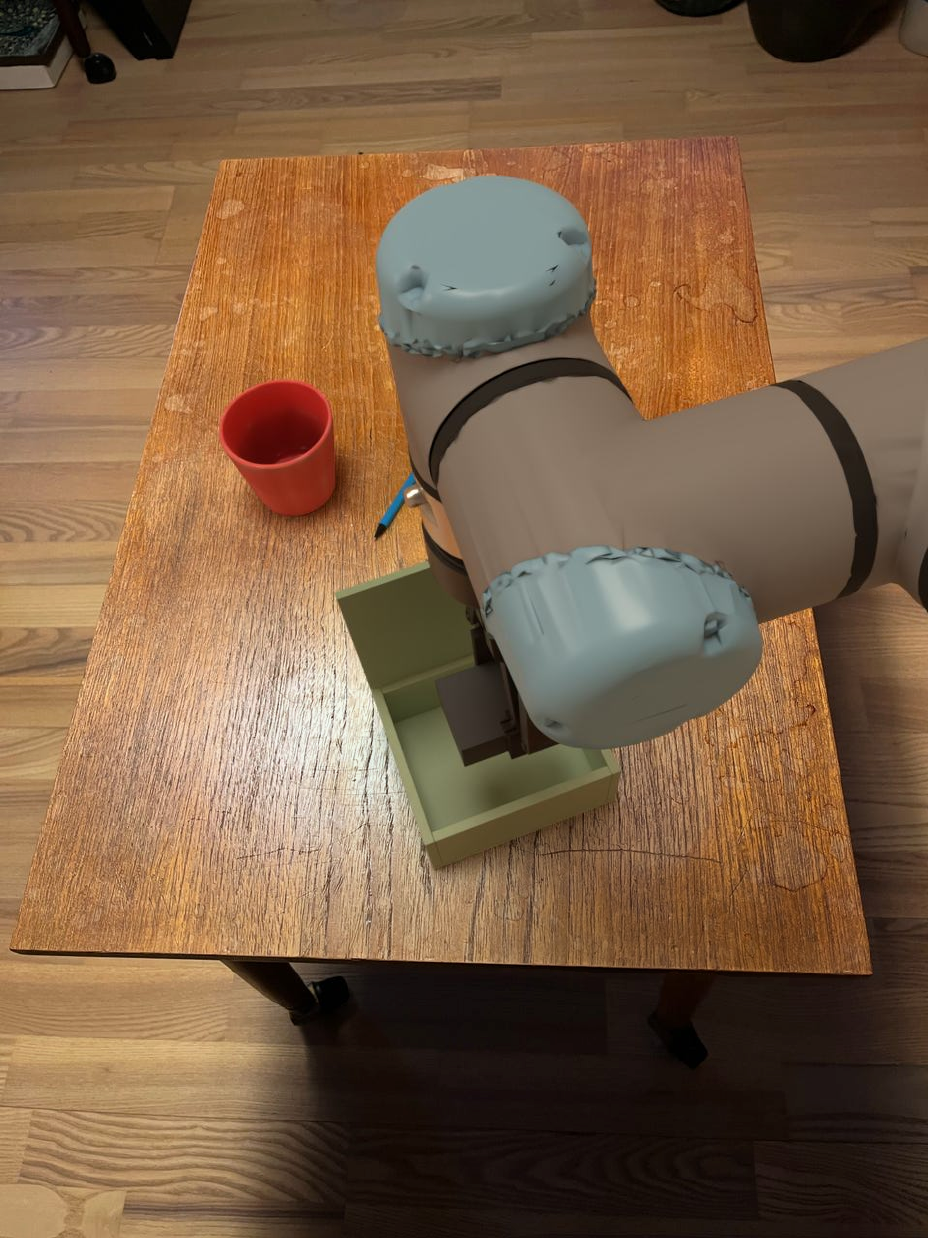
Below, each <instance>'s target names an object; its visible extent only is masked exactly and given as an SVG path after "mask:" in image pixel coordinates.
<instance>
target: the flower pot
mask: <svg viewBox="0 0 928 1238" xmlns="http://www.w3.org/2000/svg"><path fill="white" fill-rule="evenodd" d="M334 427H335V425H334V417H333V410H332V406H331V404H330V402H329V400H328V398H327V397H326V395H325V394H323V392H322V391H321V390H319V389H318V388H317V387H315V386H314V385H312V384H310V383H308V382H306V381H301V380H298V379H289V378H285V379H284V378H283V379H281V378H280V379H274V380H273V379H272V380H269V381H263V382H261V383H258V384H256V385H254V386H251V387H249V388H248V389H245V390H244V391H243V392H241V393H240V394H239V395H237V396H236V397H235V398H233V400H232V401H231V402H230V403H229V404H228V405H227V406H226V408H225V409H224V411H223V413H222V415H221V417H220V421H219V425H218V437H219V438H218V439H219V440H220V441H219V442H220V445H221V447H222V448H223V450H224V452H225V454H226V455H227V456H228V458H229V459H230V461H231V462H232V463H233V465H234V466H235V468H236V469H237V471H238V472H239V473H240V475H241V476H242V477H243V478H244V480H245V481H246V483H247V484H248V485H249V487H250V488H251V489H252V490H253V491H254V493H255V494H256V495H257V497H258V498H259V499H260V500H261V501H262V502H263V504H264V505H265V506H266V507H267V508H268V509H269V510H271V511H272V512H274V513H276V514H278V515H283V516H290V517H299V516H304V515H307V514H310V513H313V512H314V511H316V510H318V509H320V508H321V507H322V506H324V505H325V504H326V503H327V502H328V501H329V499H330V498H331V497H332V495H333V493H334V491H335V487H336V452H335V450H336V449H335V430H334V429H335V428H334Z"/></svg>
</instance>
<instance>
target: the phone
mask: <svg viewBox="0 0 928 1238" xmlns="http://www.w3.org/2000/svg"><path fill="white" fill-rule="evenodd" d="M435 685H436V689H437V694H438V698H439V701H440V704H441V706H442V709H443V712H444V714H445V717H446V720H447V722H448V725H449V727H450V730H451V733H452V735H453V738H454V741H455V743H456V746H457V748H458V751H459V754H460V756H461V759H462V762H463V764H464V767H467V766H469V765H472V764H475V763H478V762H480V761H483V760H486V759H488V758H491V757H494V756H497V755H499V754H502V753H505V752H508V748H507V737H505V735H504V733H503V731H502V728H501V725H500V722H499V721H500V720H503V719H505V712H504V711H505V710H508V709H509V706H508V701H507V696H506V691H505V686H504V681H503V676H502V671H501V666H500V662H497V661H495V659H494V660H492V661H489V662H486V663H483V664H480V665H477V666H475V667H472V668H469V669H466V670H463V671H461V672H458V673H455V674H452V675H449V676H446V677H444V678H441V679H438V680H435Z"/></svg>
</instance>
